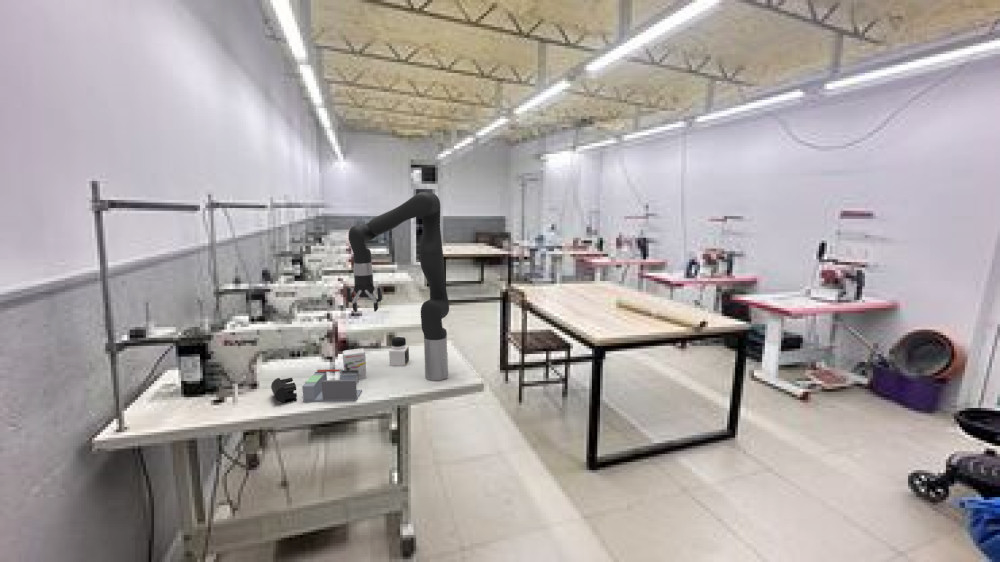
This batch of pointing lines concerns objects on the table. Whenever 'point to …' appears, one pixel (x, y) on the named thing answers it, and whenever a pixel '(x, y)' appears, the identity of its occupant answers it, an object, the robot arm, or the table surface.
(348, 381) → the gauge body
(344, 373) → the plunger
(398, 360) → the medicine bottle
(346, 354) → the ink box
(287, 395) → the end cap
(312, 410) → the table surface
